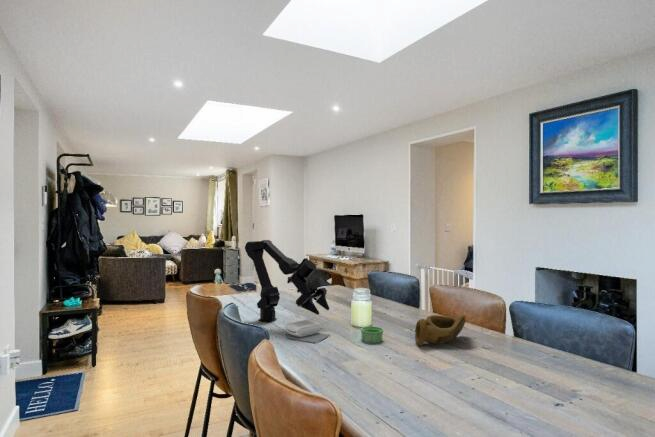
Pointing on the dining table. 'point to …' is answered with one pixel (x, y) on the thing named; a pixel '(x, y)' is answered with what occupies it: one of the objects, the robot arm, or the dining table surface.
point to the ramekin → (372, 334)
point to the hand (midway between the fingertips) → (323, 311)
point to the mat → (310, 337)
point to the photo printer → (303, 328)
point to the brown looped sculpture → (438, 329)
